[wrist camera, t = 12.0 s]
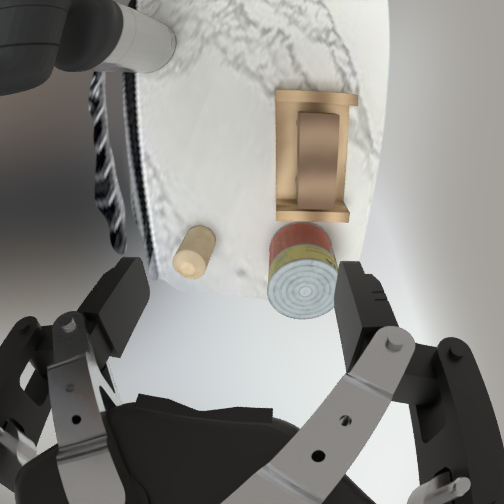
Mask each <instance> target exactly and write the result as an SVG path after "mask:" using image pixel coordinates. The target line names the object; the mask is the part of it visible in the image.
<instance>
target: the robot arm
mask: <svg viewBox="0 0 504 504" xmlns="http://www.w3.org/2000/svg"><path fill="white" fill-rule="evenodd" d="M175 47H176V39H175V35H174V33H173V31H172V30H171V29H170V28H169V27H168V26H167V25H165V24H163V23H161V22H159V21H157V20H155V19H153V18H151V17H149V16H147V15H145V14H143V13H141V12H139V11H136V10H134V9H132V8H130V7H127V6H125V5H123V4H120V3H118V2H115V1H113V0H0V96H4V95H10V94H14V93H19V92H22V91H26V90H30V89H32V88H35V87H37V86H39V85H41V84H43V83H44V82H45V81H46V80H47V79H48V78H49V77H50V75H51V73H52V70H53V67H54V66H55V67H56V68H58V69H60V70H63V71H67V72H82V71H115V72H134V73H150V72H154V71H156V70H159V69H160V68H162V67H163V66H164V65H165V64H167V63H168V61H169V60H170V59H171V57H172V55H173V53H174V51H175ZM149 296H150V289H149V284H148V281H147V277H146V273H145V270H144V266H143V262H142V260H141V258H139V257H122V258H121V259H120V261H119V262H118V263H117V265H116V266H115V267H114V268H112V269H111V270H109V271H108V272H106V273H105V274H104V275H103V276H102V277H101V278H100V280H99V281H98V282H97V284H96V285H95V286H94V288H93V291H92V290H91V292H90V293H89V295H88V296H87V297H86V299H85V300H84V302H83V303H82V304H81V306H80V307H79V308H78V310H77V311H71V312H67V313H64V314H62V315H61V316H59V317H58V318H57V319H56V321H55V322H54V324H53V325H49V326H40V324H39V323H38V321H37V319H36V318H35V317H32V316H28V317H25V318H22V319H21V320H19V321H18V322H17V323H16V324H15V325H14V327H13V328H12V330H11V331H10V333H9V334H8V336H7V337H6V339H5V340H4V341H3V343H2V345H1V346H0V483H1V484H2V485H4V486H5V487H7V488H8V489H9V490H11V491H12V492H14V493H15V500H16V504H376V503H375V502H374V501H373V500H371V499H370V497H368V496H367V495H366V494H365V493H364V492H363V491H362V490H361V489H360V488H359V487H358V486H357V485H356V484H355V483H354V482H353V481H352V480H351V479H350V478H349V477H348V476H347V475H346V474H345V473H346V472H347V470H348V469H349V467H350V466H351V465H352V463H353V462H354V461H355V459H356V458H357V456H358V455H359V453H360V452H361V450H362V449H363V447H364V446H365V444H366V443H367V441H368V439H369V438H370V436H371V435H372V433H373V431H374V430H375V428H376V427H377V425H378V423H379V421H380V420H381V418H382V416H383V414H384V413H385V411H386V409H387V407H388V406H389V404H390V402H391V401H395V402H400V403H407V404H409V409H410V415H411V420H412V426H413V433H414V439H415V446H416V454H417V462H418V470H419V481H420V486H419V487H418V488H416V489H415V490H414V491H413V492H412V494H411V495H410V497H409V499H408V502H407V504H504V447H503V443H502V439H501V435H500V431H499V427H498V424H497V420H496V417H495V413H494V410H493V407H492V404H491V401H490V398H489V395H488V392H487V389H486V387H485V384H484V381H483V379H482V376H481V373H480V371H479V368H478V366H477V363H476V361H475V358H474V356H473V354H472V352H471V349H470V348H469V346H468V345H467V344H466V343H465V342H463V341H462V340H460V339H458V338H454V337H448V338H445V339H443V340H442V341H440V343H439V345H438V346H437V347H432V346H427V345H421V344H417V343H415V341H414V339H413V337H412V336H411V334H410V333H408V332H407V331H406V330H404V329H402V328H400V327H399V326H398V324H397V321H396V319H395V316H394V313H393V311H392V309H391V306H390V304H389V301H387V297H386V294H385V293H384V290H383V287H382V285H381V283H380V281H379V280H377V279H376V278H375V277H374V276H373V275H372V274H365V273H364V271H363V268H362V266H361V263H360V262H359V261H341V262H340V264H339V268H338V275H337V281H336V287H335V292H334V308H335V313H336V318H337V323H338V328H339V333H340V338H341V344H342V349H343V355H344V360H345V366H346V372H347V373H349V374H347V373H346V374H345V375H344V376H343V377H342V378H341V379H340V381H339V382H338V383H337V385H336V386H335V387H334V389H333V390H332V391H331V393H330V394H329V395H328V396H327V398H326V399H325V400H324V402H323V403H322V404H321V405H320V407H319V408H318V409H317V410H316V412H315V413H314V414H313V415H312V416H311V417H310V419H309V420H308V421H307V422H306V423H305V424H304V426H303V427H302V428H301V429H299V428H298V427H296V426H295V425H293V424H291V423H289V422H286V421H284V420H281V419H277V418H274V417H272V416H273V409H272V408H250V407H233V408H225V409H218V410H209V411H198V410H195V409H193V408H190V407H187V406H185V405H182V404H180V403H177V402H175V401H172V400H170V399H165V398H160V397H154V396H149V395H144V394H138V397H137V400H136V402H132V403H126V404H122V401H121V399H120V397H119V394H118V391H117V388H116V385H115V382H114V379H113V376H112V372H111V369H110V366H109V363H108V362H107V360H108V358H109V356H112V357H117V358H120V357H121V355H122V353H123V351H124V349H125V347H126V345H127V342H128V341H129V338H130V336H131V334H132V332H133V330H134V328H135V326H136V324H137V322H138V320H139V318H140V316H141V314H142V312H143V310H144V308H145V306H146V305H147V303H148V300H149ZM28 361H29V362H30V363H31V364H32V365H33V367H34V368H35V371H34V373H33V375H32V376H31V378H30V380H29V382H28V384H27V386H26V388H25V391H23V389H22V388H21V386H20V376H21V374H22V372H23V370H24V369H25V367H26V365H27V363H28ZM51 409H52V414H53V421H54V426H55V432H56V437H57V441H58V443H57V444H56V445H54V446H52V447H51V448H49V449H48V450H46V451H45V452H43V453H41V454H40V455H37V454H36V446H37V443H38V441H39V438H40V435H41V433H42V430H43V427H44V425H45V422H46V420H47V417H48V415H49V412H50V410H51Z"/></svg>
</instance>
